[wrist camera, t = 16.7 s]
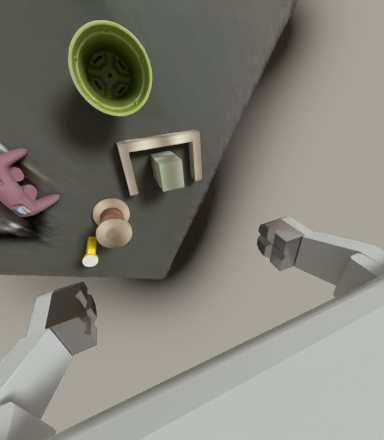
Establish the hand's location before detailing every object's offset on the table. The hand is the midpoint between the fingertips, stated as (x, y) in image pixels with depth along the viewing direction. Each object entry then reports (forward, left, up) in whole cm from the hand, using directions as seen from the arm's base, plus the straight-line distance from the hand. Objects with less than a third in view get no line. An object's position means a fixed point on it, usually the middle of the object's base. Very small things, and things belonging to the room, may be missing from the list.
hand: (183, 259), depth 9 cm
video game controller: (-16, -5, -34) cm, 38 cm away
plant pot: (+1, +8, -34) cm, 35 cm away
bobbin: (-5, -15, -34) cm, 38 cm away
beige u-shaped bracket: (+7, -7, -34) cm, 35 cm away
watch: (-11, -21, -34) cm, 42 cm away
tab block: (+7, -7, -34) cm, 36 cm away
